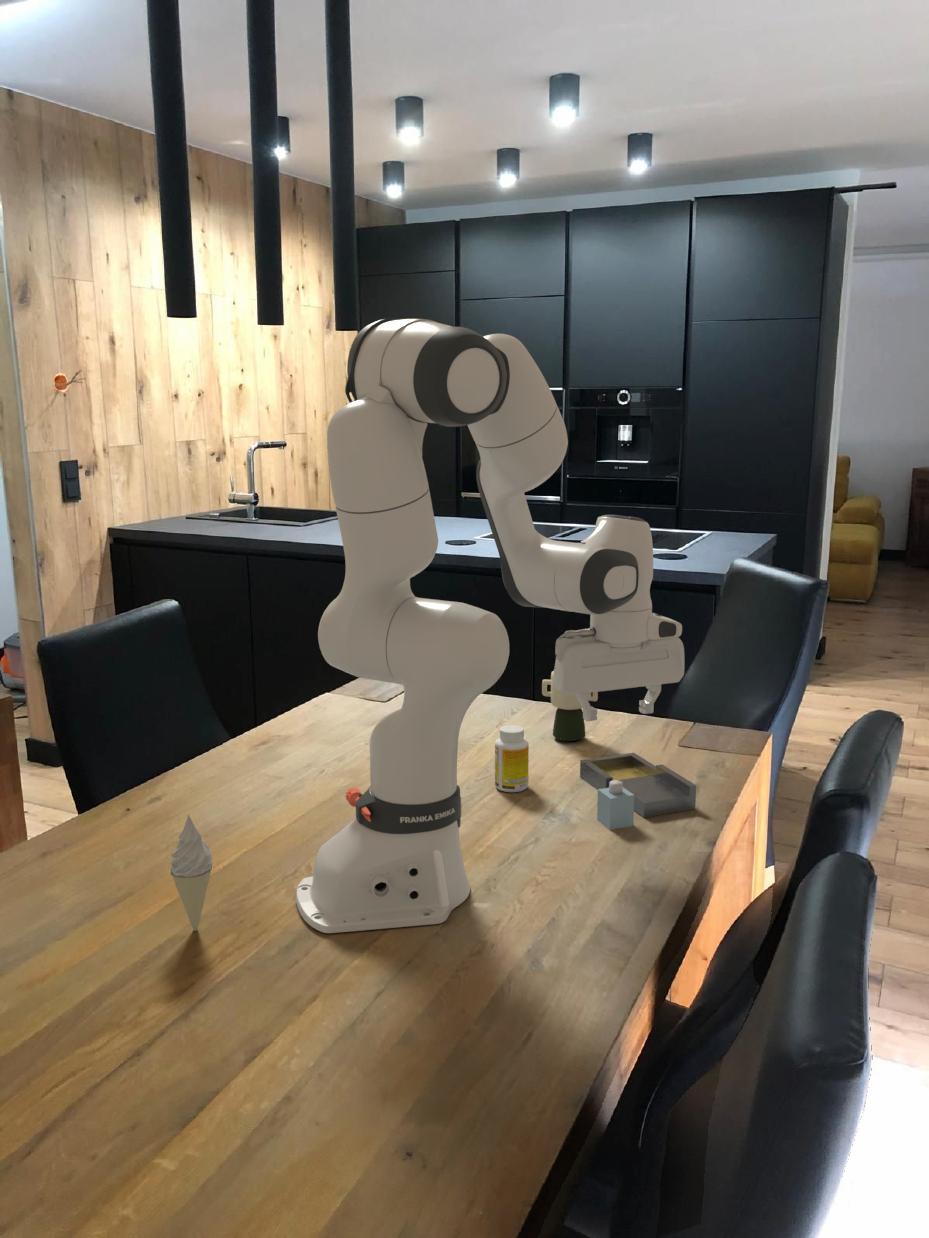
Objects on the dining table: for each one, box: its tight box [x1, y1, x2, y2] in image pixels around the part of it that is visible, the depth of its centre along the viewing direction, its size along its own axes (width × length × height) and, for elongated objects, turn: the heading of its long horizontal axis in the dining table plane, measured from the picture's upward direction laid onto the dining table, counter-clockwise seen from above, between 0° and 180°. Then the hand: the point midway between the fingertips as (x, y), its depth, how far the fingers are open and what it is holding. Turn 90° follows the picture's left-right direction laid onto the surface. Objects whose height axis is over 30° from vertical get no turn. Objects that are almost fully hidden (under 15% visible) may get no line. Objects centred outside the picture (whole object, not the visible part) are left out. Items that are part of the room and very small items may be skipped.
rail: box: [579, 752, 697, 819], centre depth 163 cm, size 10×19×4 cm, turn 20°
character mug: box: [541, 670, 599, 742], centre depth 189 cm, size 11×7×13 cm, turn 68°
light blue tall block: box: [596, 780, 635, 831], centre depth 151 cm, size 4×4×6 cm
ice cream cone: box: [169, 814, 214, 932], centre depth 119 cm, size 5×5×15 cm
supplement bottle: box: [494, 724, 530, 793], centre depth 165 cm, size 6×6×10 cm
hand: (618, 716), depth 148 cm, fingers open, 8 cm apart
